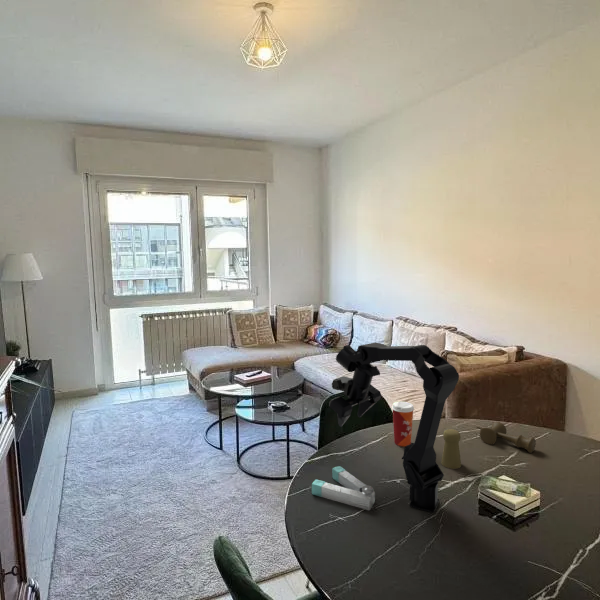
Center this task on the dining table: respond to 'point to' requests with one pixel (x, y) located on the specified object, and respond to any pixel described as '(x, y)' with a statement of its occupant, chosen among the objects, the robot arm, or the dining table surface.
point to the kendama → (505, 436)
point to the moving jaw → (346, 479)
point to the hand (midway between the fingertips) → (349, 421)
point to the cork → (451, 449)
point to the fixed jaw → (345, 494)
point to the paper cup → (402, 422)
